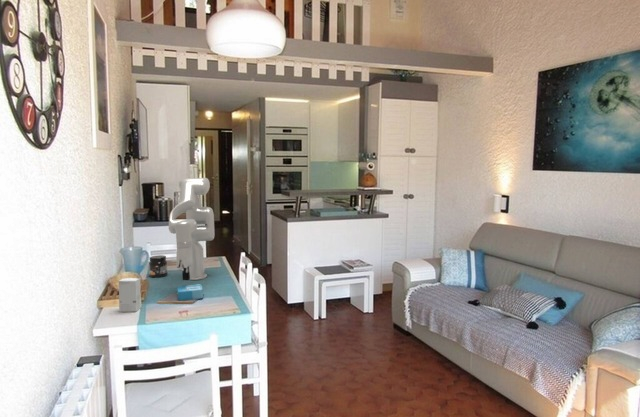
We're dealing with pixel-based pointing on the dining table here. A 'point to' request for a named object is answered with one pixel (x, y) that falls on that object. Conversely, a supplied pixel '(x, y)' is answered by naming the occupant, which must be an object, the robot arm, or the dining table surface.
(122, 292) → the skincare box
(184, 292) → the data package
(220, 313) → the dining table surface
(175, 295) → the rubber mat
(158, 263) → the supplement container
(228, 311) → the dining table surface
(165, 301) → the oak strip
